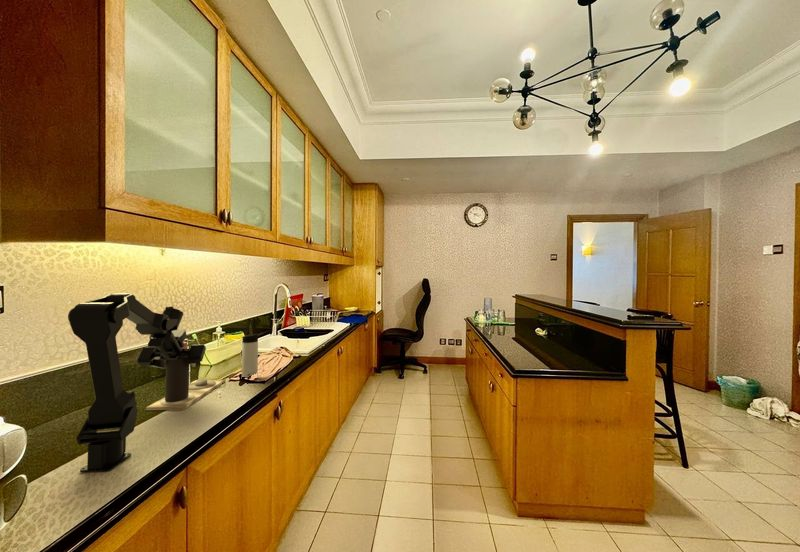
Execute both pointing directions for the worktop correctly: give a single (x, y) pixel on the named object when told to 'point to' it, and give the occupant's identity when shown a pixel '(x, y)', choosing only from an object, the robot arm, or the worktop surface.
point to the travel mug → (249, 355)
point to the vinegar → (177, 378)
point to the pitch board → (195, 393)
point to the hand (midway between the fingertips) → (180, 366)
